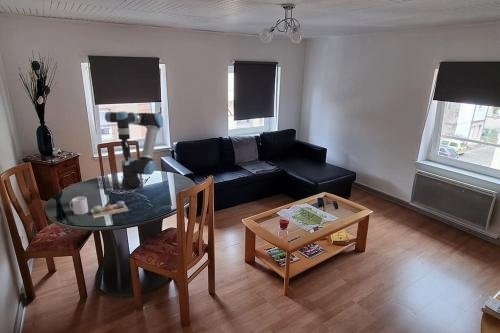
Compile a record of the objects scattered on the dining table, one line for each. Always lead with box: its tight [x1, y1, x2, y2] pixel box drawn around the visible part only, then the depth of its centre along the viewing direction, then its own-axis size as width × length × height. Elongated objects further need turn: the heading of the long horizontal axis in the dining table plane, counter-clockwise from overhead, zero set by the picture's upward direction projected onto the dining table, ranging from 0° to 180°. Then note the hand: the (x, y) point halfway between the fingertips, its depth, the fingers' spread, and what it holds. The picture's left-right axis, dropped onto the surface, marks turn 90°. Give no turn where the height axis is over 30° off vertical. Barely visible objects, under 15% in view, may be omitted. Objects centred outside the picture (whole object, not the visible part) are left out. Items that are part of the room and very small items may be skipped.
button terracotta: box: [106, 204, 114, 211], centre depth 213 cm, size 5×5×4 cm
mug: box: [69, 195, 89, 216], centre depth 208 cm, size 9×12×11 cm
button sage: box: [92, 204, 102, 214], centre depth 209 cm, size 5×5×4 cm
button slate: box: [116, 200, 126, 209], centre depth 217 cm, size 5×5×4 cm
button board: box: [90, 203, 130, 219], centre depth 213 cm, size 15×22×1 cm
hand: (127, 164), depth 229 cm, fingers closed
